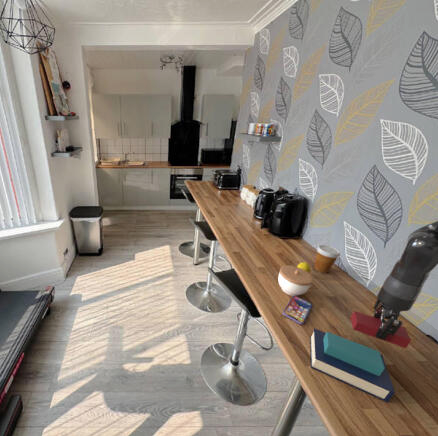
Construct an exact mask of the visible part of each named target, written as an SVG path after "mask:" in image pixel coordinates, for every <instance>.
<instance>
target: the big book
mask: <svg viewBox="0 0 438 436" xmlns="http://www.w3.org/2000/svg"><path fill="white" fill-rule="evenodd" d="M325 334H326V332H325V331H322V330H320V329H317V328H315V327H314V328H313V332H312V335H311V336H309V350H310V368H311V369H313V370H316V371H317V372H319V373H321V374H324V375H325V376H326V375H327V376H329V377H330V378H333V379H335V380H337V381H339V382H341V383H344V384H346V385H348V386H350V387H352V388H354V389H357V390H359V391H361V392H363V393H365V394H368V395H370V396H372V397H374V398H377V399H379V400H380V401H383V402H385V403H389V402H390V400H391V399H392V398H393V397H394V395H395V394H396V392H395V391H396V390H395V388H394V385H393V383H392V379H391V376H390V374H389V370H388V368H387V365H386V361H385V359H384V356H383V354H381V353H380V355H381V358H382V361H383V364H384V367H385V369H384V370H383V372H382V373H381V375H380V376H378V375H375V374H373V373H371V372H368V371H366V370H363V369H361V368H359V367H356V366H354V365H352V364H349V363H347V362H344V361H342V360H340V359H337V358H335V357H333V356H330V355H328V354H325V352H324V342H323V339H324V336H325Z"/></svg>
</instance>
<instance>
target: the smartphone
mask: <svg viewBox="0 0 438 436" xmlns="http://www.w3.org/2000/svg"><path fill="white" fill-rule="evenodd" d="M312 308H313V303H312V302H310V301H308V300H306V299H304V298H301V297H300V296H299V295H298V296H292V297H291V299H290V300H289V301H288V303H287V305H286V306H285V308H284V310H283V312H282V314H283V316H285V317H287V318H289V319H290V320H292V321H294V322H295V323H297V324H299V325H304V324H305V322H306V320H307V318H308V316H309V314H310V312H311V310H312Z"/></svg>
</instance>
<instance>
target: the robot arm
mask: <svg viewBox="0 0 438 436" xmlns="http://www.w3.org/2000/svg"><path fill="white" fill-rule="evenodd" d="M437 266H438V220H437V221H434V222H432V223H429V224H426V225H423V226H421V227H419V228H417V229H416V230H414V231H412V232H411V233H410V234H409V235H408V237H407V242H406V245H405V248H404V250H403V252H402V253H401V256H400V258H399V259H398V260H397V261H396V262H395V264H394V265H393V267H392V269H391V270H390V273H389V275H388V276H387V277H385V280H384V282H383V284H382V286H381V287H380V290H379V291H378V293H377V299H376V301H375V302H374V303H375V304H374V306H373V310H374V311H373V314H374V315H373V316H372V317H375V318H378V319H380V321H381V324H380V327H379V329H378V331H377V333H376V335H375V336H376V337H377V338H376V339H378V338H379V340H381V339H382V341H384V340H385V339H386V337H387V335H388V334H391V335H394V334H395V333H396V332H397V330H398V329H399V328H400V326H403V321H401V320H399V318H400V316H401V312H408V311H410V310H411V309H412V308H413V305H414V304H415V302H416V301H417V299H418V298H419V296H420V295H421V293H422V290H423V287H424V286H425V284H426V282H427V280H428V279H429V277H430V274H431V273H432V271H433V270H434V269H435V268H436V267H437ZM385 323H386V324H385ZM384 324H385V326H384Z"/></svg>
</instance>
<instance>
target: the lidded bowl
mask: <svg viewBox="0 0 438 436" xmlns="http://www.w3.org/2000/svg"><path fill="white" fill-rule="evenodd" d="M277 281H278V285H279V286H280V288H281V290H282V291H283V293H285V294H287V295H289V296H292V297H293V296H298V297H299V296H302V295H304V294H305V293H307V292H308V291H309V290H310V288H311V286H312V284H313V283H314V278H313V276H312V274H310V273H308V272H307V271H305V270H303V269H301V268H298V267H297V266H294V265H283V266H281V267H280V269H279V273H278V278H277Z"/></svg>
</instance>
